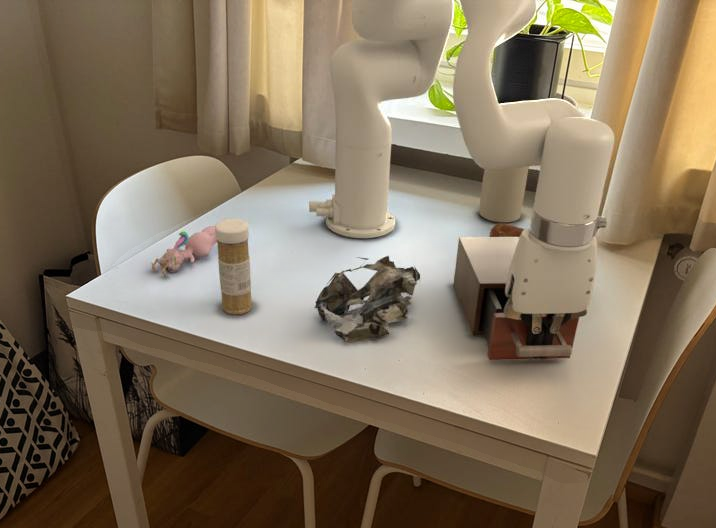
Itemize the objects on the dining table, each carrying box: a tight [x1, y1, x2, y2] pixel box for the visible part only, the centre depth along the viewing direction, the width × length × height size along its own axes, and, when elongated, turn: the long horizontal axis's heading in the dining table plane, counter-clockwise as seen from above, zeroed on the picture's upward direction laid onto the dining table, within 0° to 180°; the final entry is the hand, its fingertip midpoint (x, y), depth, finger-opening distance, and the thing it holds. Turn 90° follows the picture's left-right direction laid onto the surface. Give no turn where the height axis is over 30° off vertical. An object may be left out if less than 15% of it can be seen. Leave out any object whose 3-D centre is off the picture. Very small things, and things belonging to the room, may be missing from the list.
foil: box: [314, 255, 421, 343], centre depth 110 cm, size 12×11×15 cm
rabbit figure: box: [150, 225, 217, 276], centre depth 123 cm, size 6×6×15 cm
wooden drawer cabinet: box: [452, 236, 520, 337], centre depth 114 cm, size 15×13×9 cm
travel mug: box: [478, 166, 530, 224], centre depth 141 cm, size 8×8×18 cm
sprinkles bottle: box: [214, 218, 253, 316], centre depth 109 cm, size 5×5×14 cm
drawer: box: [480, 288, 580, 361], centre depth 106 cm, size 18×11×7 cm, turn 7°
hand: (536, 353), depth 101 cm, fingers closed
